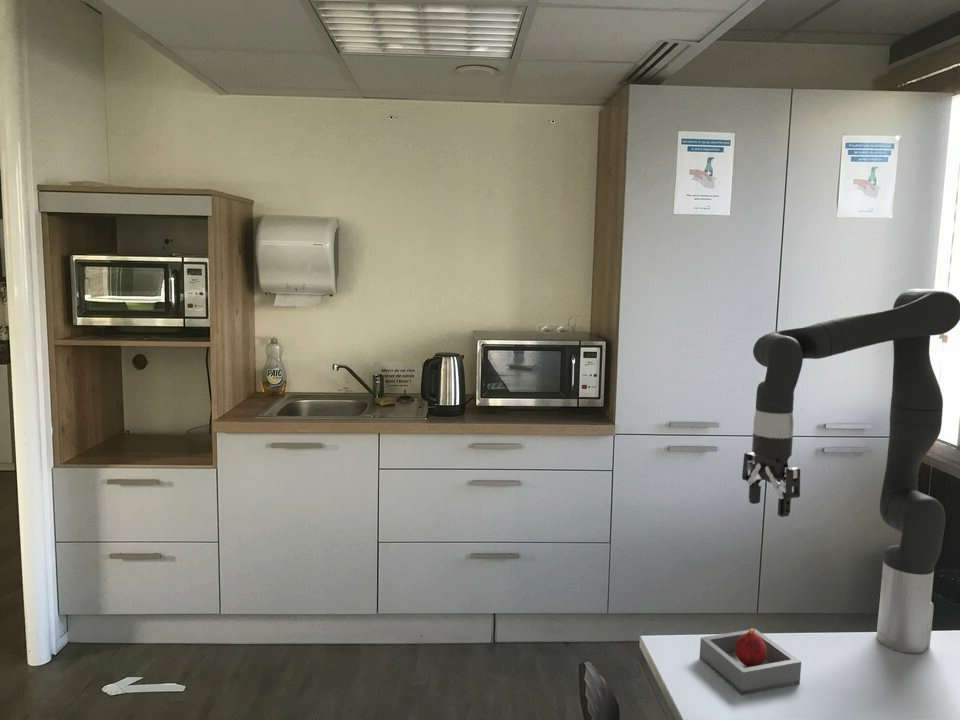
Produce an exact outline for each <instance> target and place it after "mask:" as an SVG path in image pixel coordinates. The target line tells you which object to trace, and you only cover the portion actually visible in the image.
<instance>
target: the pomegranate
mask: <svg viewBox="0 0 960 720" xmlns="http://www.w3.org/2000/svg"><path fill="white" fill-rule="evenodd" d="M754 629H755V628H753V627H752V628H751V627H750V629H748V630H749V632H748V633H746V634H743V635H742V636H740V637H739V638H738V640H737V642H736V646H735V653H736V655H737V657H738V659H739V660H740V662H741V663H743V664H744V665H745V666H746V667H753V666H759V665H761V664H762V663H763V661H764V660H765V658H766V651H767V649H766V645H765V643H764V642H763V640H762V639H761V638H760V637H759V636H758V635H757V634H755V630H754Z"/></svg>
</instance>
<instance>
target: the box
mask: <svg viewBox="0 0 960 720" xmlns="http://www.w3.org/2000/svg"><path fill="white" fill-rule="evenodd" d="M753 629H754V630H755V634H757V635H758V636H759V637H760V638H761V639H762V640H763V642H764V643H765V645H766V649H767V651H766V658H765V660H764V661H763V663H762V664H761V665H759V666H753V667H746V666H745V665H744V664H743V663H741V662H740V660H739V659H738V657H737V655H736V653H735V646H736V642H737V640H738V638H739V637H740V636H742V635H743V634H746V633H748V632H749V629H746V630H739V631H734V632H733V631H732V632H727V633H720V634H716V635H709V636H703V637H700V644H699V646H700V647H699V659H700V660H701V661H702V662H703V663H704V664H705V665H706V664H707V666H708V668H710V669H711V670H712V671H713V670H714V671H715V674H716V675H718V676H719V677H720V678H721V679H722V680H723V681H725V682H726V683H727V684H728V685H729V686H730V687H732V688H733V690H735V691H736V692H737V693H738V694H740V695H741V696H744V695H749V694H753V693H754V694H755V693H760V692H764V691H770V690H774V689H780V688H784V687H785V688H786V687H790V686H796V685H800V684H801V669H802V661H801V660H800V659H798V658H797V657H796V656H794V655H792V654H791V652H789V651H787V650H785V649H784V648H783V647H782V646H780V645H779V644H778V643H776V642H774V641H773V640H772V639H770V638H769V637H768V636H766V635H765V634H763V632H761V631H759V630H758V629H756V628H753ZM714 671H713V672H714Z"/></svg>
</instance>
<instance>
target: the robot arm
mask: <svg viewBox="0 0 960 720" xmlns="http://www.w3.org/2000/svg"><path fill="white" fill-rule="evenodd" d="M959 322H960V300H959V299H958V298H957V297H956V296H955V295H954V294H953V293H951V292H948V291H945V290H942V289H933V288H931V289H930V288H911V289H910V288H909V289H907V290H906V289H905V290H904V291H903V292H901V293H900V294H899V295H898V297H897V298H896V299H895V301H894V303H893V306H892V308H890V309H886V310H881V311H875V312H869V313H862V314H861V313H859V314H855V315H854V314H853V315H848V316H842V317H836V318H832V319H829V320H825V321H821V322H818V323H817V322H816V323H814V324H811V325H809V326H803V327H797V328H791V329H790V328H789V329H785V330H778V331H773V332H770V333H767V334H764V335H762V336H761V337H760V338H758V340H756V342H755V343H754V345H753V350H752V353H753V358H754V359H755V360H756V362H757V364H759V365H760V366H763V367H765V368H766V373H765V378H764V380H763V381H761V382H759V383H758V385H757V387H756V394H755V395H756V396H755V410H754V411H755V413H754V418H753V425H752V426H753V429H752V446H751V451H752V452H744V454H743V465H742V473H741V474H742V475H741V478H742V480H743V481H746V483H747V484H748V488H749V489H748V502H749V503H750V504H752V505H754V504H759V503H761V492H762V486H761V484H762V482H764V481H767V482H768V483H770V484H771V485H772V488H773V489H774V490H776V492H777V496H778V497H779V498H777V499H778V501H777V503H778V504H777V516H778V517H781V518H783V517H788V516H789V515H790V514H791V504H792V503H791V502H792V499H797V498H800V496H801V469H800V468H799V467H790V466H789V463H788V461H789V459H790V457H792V455H793V439H794V425H795V424H794V400H795V399H794V398H795V395H794V394H795V389H796V387H797V383H798V381H799V378H800V374H801V370H802V367H803V362H804V360H806V359H809V360H810V359H811V360H813V359H814V360H819V359H825V358H828V357H832V356H836V355H840V354H844V353H847V352H850V351H855V350H857V349H862V348H864V347H865V348H866V347H869V346H873V345H878V344H883V343H887V342H891V341H892V342H893V343H892V344H893V365H892V366H893V368H892V387H891V388H892V389H891V396H890V397H891V399H890V408H889V409H890V410H889V412H890V413H889V434H888V435H889V436H888V445H887V458H886V465H885V470H884V471H885V472H884V477H883V482H882V489H881V493H880V498H879V499H880V500H879V513H880V517H881V518H882V520H883V522H884V523H885V524H886V525H887V526H888V527H891V528H893V529H894V530H896V531H899V532H901V537H900V543H899V544H898V545H895V544H893V545H889V546H887V547H886V548H885V549H884V552H883V560H882V561H883V563H882V571H881V572H882V573H881V574H882V575H881V585H880V597H879V605H878V607H879V608H878V617H877V625H876V626H877V629H876V640H877V641H878V642H879V643H881V644H882V645H883V646H885V647H887V648H890V649H892V650H893V651H898V652H902V653H907V654H921V653H925V651H926V650H927V648H928V647H930V646H931V638H932V637H931V636H932V628H933V627H932V626H933V617H934V608H935V607H934V602H932V595H933V586H934V584H933V583H934V575H935V565H936V564H937V562H938V561H939V559H940V558H939V557H940V555H941V552H942V545H943V541H944V540H943V539H944V534H945V533H944V532H945V527H946V513H945V509H944V506H943V504H942V503H941V502H940V501H939V500H938V499H936V498H935V497H933V496H930V495H927V494H925V493H923V492H920V491H919V486H918V484H919V472H920V467H921V464H922V462H923V460H924V458H925V456H927V454H928V452H929V451H930V450H931V448H932V447H933V446H934V444H935V443H936V442H937V441H938V438H939V436H940V433H941V431H942V422H943V407H944V401H943V399H944V398H943V394H942V390H941V388H940V384H939V382H938V379H937V376H936V374H935V371H934V369H933V365H932V362H931V357H930V346H931V345H930V343H931V336H939V335H943V334H946V333H948V332H951V331H952V330H953V329H954V328H955V327H956V326H957V325H958V323H959ZM781 481H783V482H781ZM783 489H784V490H783Z"/></svg>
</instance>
